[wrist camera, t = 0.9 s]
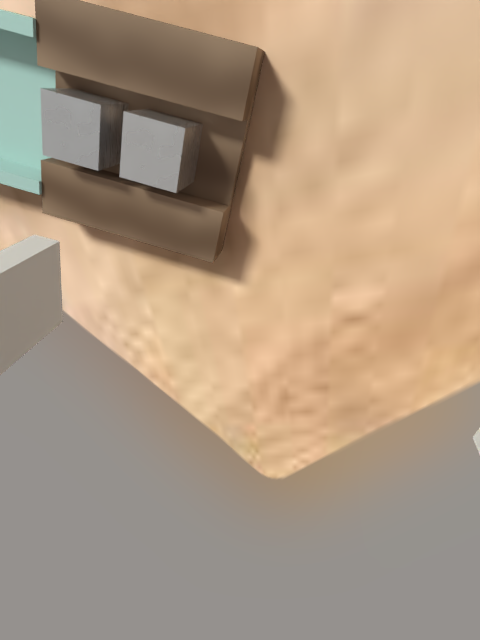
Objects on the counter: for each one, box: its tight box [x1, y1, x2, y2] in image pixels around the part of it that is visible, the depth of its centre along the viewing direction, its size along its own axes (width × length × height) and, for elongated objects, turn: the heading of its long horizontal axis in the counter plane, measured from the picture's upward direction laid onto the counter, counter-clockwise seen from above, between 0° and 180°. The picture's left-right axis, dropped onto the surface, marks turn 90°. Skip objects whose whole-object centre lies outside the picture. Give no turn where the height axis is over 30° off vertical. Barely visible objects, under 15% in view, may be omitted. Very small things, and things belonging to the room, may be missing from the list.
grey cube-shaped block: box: [40, 88, 129, 171], centre depth 28 cm, size 4×4×4 cm
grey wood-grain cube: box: [119, 109, 203, 193], centre depth 27 cm, size 4×4×4 cm
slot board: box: [35, 0, 265, 263], centre depth 29 cm, size 14×14×3 cm
